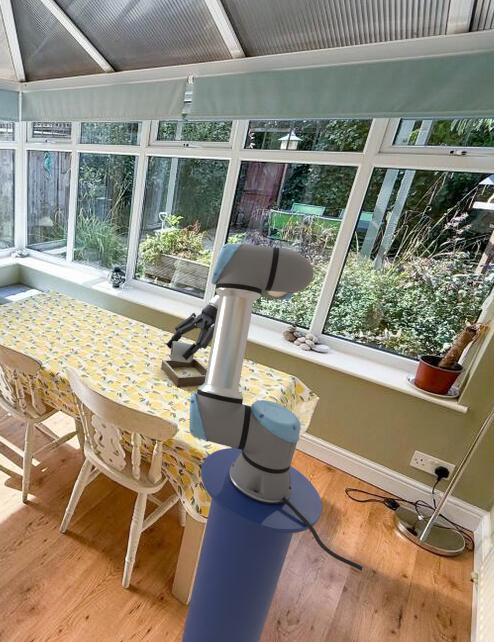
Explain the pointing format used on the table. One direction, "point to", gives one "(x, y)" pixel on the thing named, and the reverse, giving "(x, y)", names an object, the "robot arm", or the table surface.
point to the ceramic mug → (180, 352)
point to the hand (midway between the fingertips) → (175, 352)
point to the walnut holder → (184, 380)
